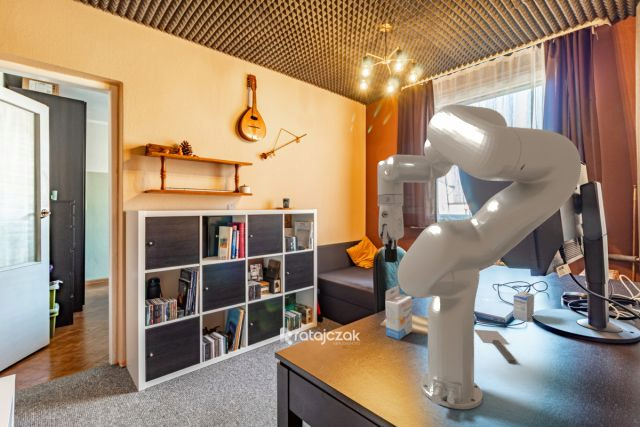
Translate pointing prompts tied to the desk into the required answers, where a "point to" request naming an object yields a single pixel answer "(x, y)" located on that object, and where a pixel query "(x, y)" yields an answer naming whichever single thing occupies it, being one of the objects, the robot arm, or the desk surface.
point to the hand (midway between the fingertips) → (390, 261)
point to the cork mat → (416, 325)
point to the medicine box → (523, 306)
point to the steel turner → (496, 343)
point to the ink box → (398, 314)
